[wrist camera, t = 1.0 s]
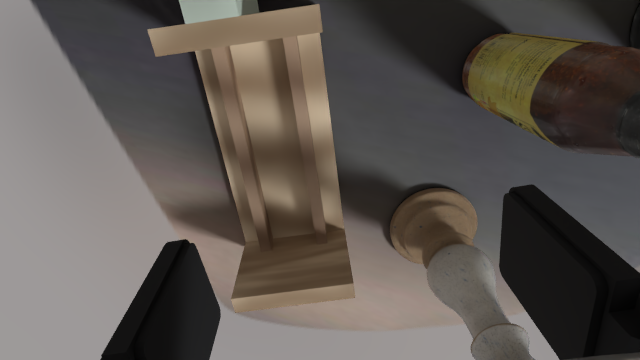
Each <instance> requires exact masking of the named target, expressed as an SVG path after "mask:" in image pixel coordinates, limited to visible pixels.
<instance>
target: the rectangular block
mask: <svg viewBox="0 0 640 360" xmlns="http://www.w3.org/2000/svg"><path fill="white" fill-rule="evenodd" d="M179 3H180V6H181V10H182V14H183V18H184V21H185V24H190V23H197V22H204V21H210V20H217V19H224V18H230V17H237V16H243V15H249V14H254V13H259V8H258V2H257V0H179Z"/></svg>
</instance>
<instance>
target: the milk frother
mask: <svg viewBox="0 0 640 360" xmlns="http://www.w3.org/2000/svg"><path fill="white" fill-rule="evenodd" d="M630 43H631V47H632V48H636V49H640V5H639V7H638V9H637V11H636V14H635V16H634V21H633V23H632V28H631V34H630Z"/></svg>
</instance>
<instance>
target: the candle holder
mask: <svg viewBox="0 0 640 360" xmlns="http://www.w3.org/2000/svg"><path fill="white" fill-rule="evenodd" d="M476 230H477V215H476V212H475V210H474V208H473V206H472V204H471V203H470V202H469V201H468V200H467V199H466V198H465V197H464V196H463V195H461V194H460V193H458V192H456V191H454V190H450V189H445V188H431V189H426V190H422V191H419V192H417V193H415V194H413V195H411V196H410V197H408V198H407V199H406V200H405V201H403V202H402V203H401V204H400V206H399V207H398V208H397V209H396V211H395V212H394V215H393V217H392V219H391V223H390V236H391V240H392V243H393V245H394V247H395V249H396V250H397V251H398V253H399V254H400V255H402V256H403V257H404V258H406V259H407V260H409V261H412V262H414V263H418V264H424V266H425V268H426V269H427V280H428V284H429V287H430V289H431V290H432V292H433V293H434V295H435V296H436V297H437V298H438V299H439V300H440V301H441V302H443V303H444V304H445V305H446V306H448V307H449V308H451V309H452V310H454V311H455V312H456V313H457V314H458V315H459V316H460V317H461V318H462V319H463V321H464V323H465V324H466V326H467V328H468V329H469V331H470V333H471V335H472V337H473V339H474V340H473V342H472V344H471V353H472V355H473V357H474V358H475V359H476V360H535V359H534V358H532V356H531V355H530V354H529V336H528V334H527V332H526V331H525V330H524V329H523V328H522V327H520V326H518V325H516V324H511V323H510V322H509V320H508V318H507V317H506V315H505V313H504V311H503V310H502V308H501V306H500V304H499V302H498V299H497V294H496V277H495V271H494V268H493V265H492V263H491V261H490V260H489V258H488V257H487V256H486V255H485V254H484V253H483V252H482V251H481V250H479V249H478V248H476V247H474V244H473V242H472V240H473V238H474V236H475V233H476Z"/></svg>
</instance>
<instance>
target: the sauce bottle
mask: <svg viewBox="0 0 640 360" xmlns="http://www.w3.org/2000/svg"><path fill="white" fill-rule="evenodd" d="M462 82H463V86H464V89H465V91H466V92H467V94H468V95H469V96H470V98H471V99H472V100H473V101H475V102H476V103H477V104H478V105H479V106H480V107H482V108H484V109H486V110H488V111H490V112H492V113H494V114H496V115H498V116H500V117H501V118H503V119H505V120H507V121H509V122H511V123H513V124H515V125H517V126H519V127H521V128H522V129H524V130H526V131H528V132H530V133H532V134H535V135H536V136H538V137H541V138H542V139H544V140H546V141H548V142H550V143H552V144H554V145H556V146H558V147H560V148H562V149H564V150H567V151H570V152H575V153H585V154H600V155H617V156H633V157H636V158H640V49H636V48H632V47H623V46H611V45H609V44H607V43H602V42H596V41H587V40H578V39H568V38H559V37H550V36H541V35H530V34H521V33H510V34H496V35H493V36H491V37H488V38H486V39H485V40H483V41H482V42H481V43H480V44H478V45H477V46H476V47H475V48H474V49H473V50H472V51H471V53H470V54H469V55H468V57H467V59H466V61H465V65H464V67H463V75H462Z"/></svg>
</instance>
